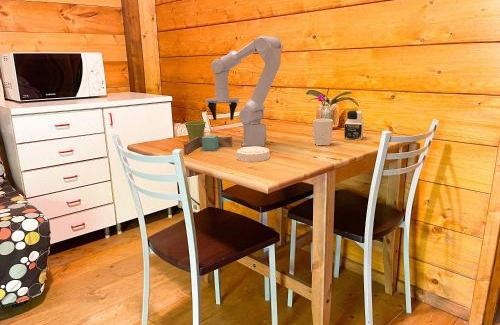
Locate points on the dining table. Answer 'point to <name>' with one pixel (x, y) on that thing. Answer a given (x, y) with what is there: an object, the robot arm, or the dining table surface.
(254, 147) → the white flat cylinder
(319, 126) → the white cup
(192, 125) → the plant pot
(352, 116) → the medicine bottle
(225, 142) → the brown corner wall
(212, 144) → the cube
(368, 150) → the dining table surface
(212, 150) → the mat
